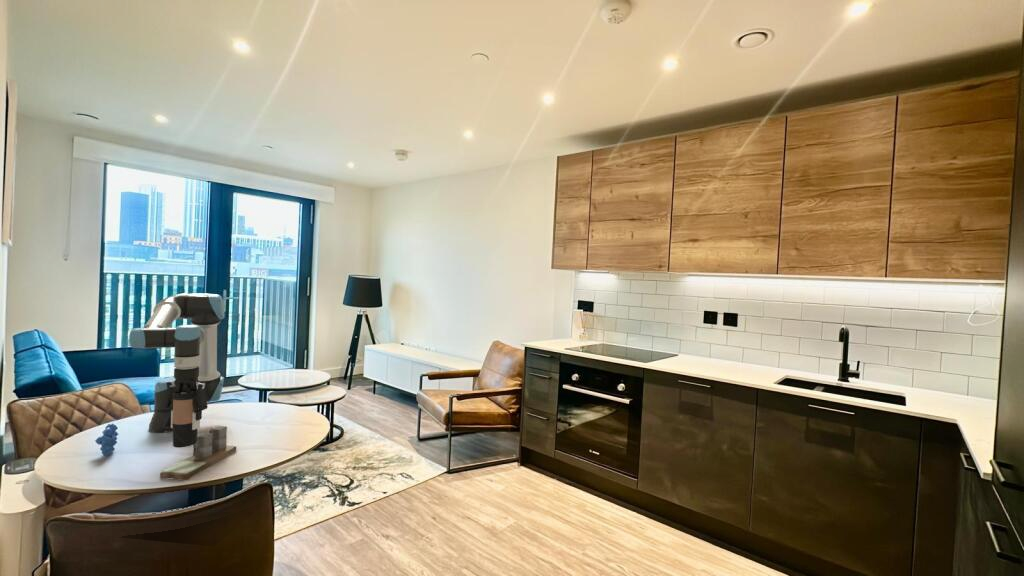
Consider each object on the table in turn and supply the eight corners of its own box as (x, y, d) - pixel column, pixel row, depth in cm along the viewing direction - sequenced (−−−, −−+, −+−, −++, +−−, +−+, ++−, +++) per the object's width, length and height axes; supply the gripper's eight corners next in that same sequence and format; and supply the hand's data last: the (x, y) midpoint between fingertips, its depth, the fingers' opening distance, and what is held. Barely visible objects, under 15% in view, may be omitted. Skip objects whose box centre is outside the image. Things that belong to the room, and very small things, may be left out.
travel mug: (177, 449, 157) (178, 395, 156) (168, 444, 161) (169, 391, 160) (201, 443, 163) (202, 390, 162) (192, 438, 167) (193, 387, 167)
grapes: (100, 449, 178) (100, 421, 177) (121, 447, 181) (122, 419, 180) (89, 461, 167) (89, 430, 167) (112, 458, 171) (112, 428, 170)
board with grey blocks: (160, 477, 158) (160, 448, 157) (213, 449, 184) (214, 423, 183) (186, 480, 157) (186, 450, 157) (236, 450, 183) (237, 425, 183)
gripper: (151, 367, 158) (150, 429, 159) (205, 371, 157) (203, 433, 157) (169, 363, 165) (168, 422, 166) (220, 366, 164) (218, 426, 165)
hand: (185, 427), depth 162 cm, fingers closed on travel mug, 8 cm apart
